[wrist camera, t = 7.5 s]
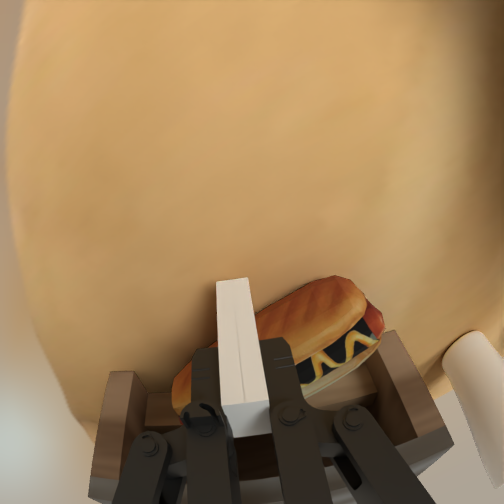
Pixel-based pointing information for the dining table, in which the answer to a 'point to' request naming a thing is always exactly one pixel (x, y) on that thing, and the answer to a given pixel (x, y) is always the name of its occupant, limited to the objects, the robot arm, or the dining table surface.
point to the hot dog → (313, 334)
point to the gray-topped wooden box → (262, 446)
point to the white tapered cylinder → (480, 396)
